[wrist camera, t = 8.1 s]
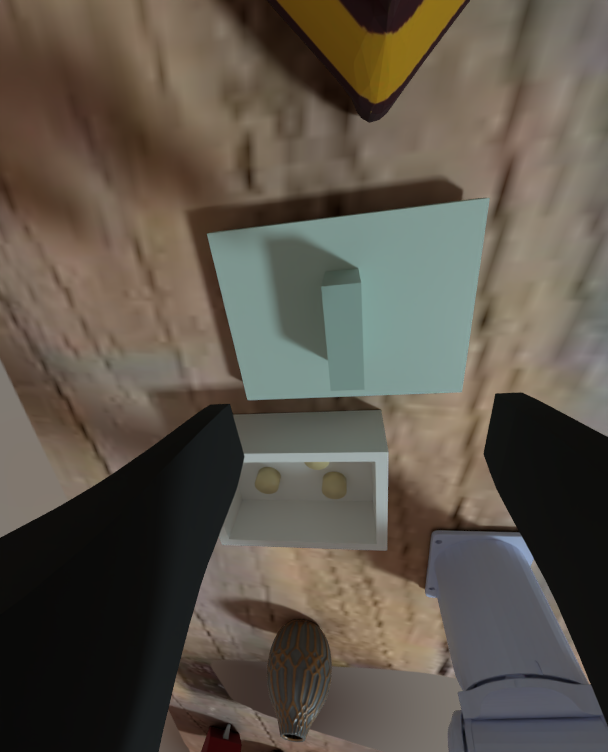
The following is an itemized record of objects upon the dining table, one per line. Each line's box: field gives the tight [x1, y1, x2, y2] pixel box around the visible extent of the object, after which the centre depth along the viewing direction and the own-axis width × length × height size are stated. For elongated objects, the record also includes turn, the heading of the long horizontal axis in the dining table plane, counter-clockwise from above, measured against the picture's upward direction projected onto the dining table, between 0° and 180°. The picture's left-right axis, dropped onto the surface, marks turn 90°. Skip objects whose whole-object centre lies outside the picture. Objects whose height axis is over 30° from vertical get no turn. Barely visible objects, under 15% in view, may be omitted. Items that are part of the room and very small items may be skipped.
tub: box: [219, 410, 388, 551], centre depth 22 cm, size 9×12×4 cm
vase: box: [267, 620, 332, 742], centre depth 33 cm, size 7×7×9 cm
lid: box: [207, 198, 490, 400], centre depth 16 cm, size 10×13×5 cm
